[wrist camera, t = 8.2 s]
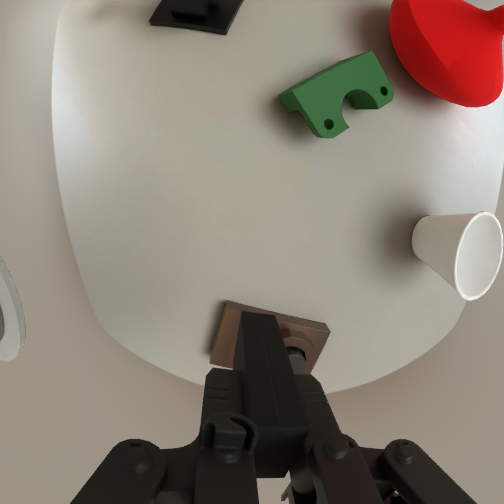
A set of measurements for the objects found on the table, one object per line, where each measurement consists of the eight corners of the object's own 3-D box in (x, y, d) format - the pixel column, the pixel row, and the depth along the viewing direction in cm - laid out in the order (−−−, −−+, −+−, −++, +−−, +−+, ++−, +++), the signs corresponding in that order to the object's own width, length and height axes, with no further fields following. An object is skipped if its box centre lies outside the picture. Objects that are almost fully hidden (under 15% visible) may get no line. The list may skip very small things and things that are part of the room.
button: (268, 368, 30) (270, 377, 29) (278, 344, 30) (281, 352, 28) (296, 372, 31) (299, 381, 29) (307, 349, 30) (311, 357, 29)
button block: (210, 353, 34) (208, 372, 30) (226, 300, 32) (226, 315, 28) (302, 371, 35) (309, 389, 31) (325, 323, 34) (335, 339, 30)
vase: (466, 131, 29) (563, 124, 10) (371, 88, 27) (477, 30, 8) (456, 40, 25) (528, 10, 6) (366, -6, 23) (427, -73, 4)
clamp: (304, 131, 32) (308, 151, 25) (278, 92, 29) (275, 99, 22) (384, 93, 27) (412, 103, 20) (361, 52, 24) (385, 48, 17)
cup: (457, 239, 33) (509, 257, 22) (418, 286, 34) (467, 317, 23) (431, 186, 30) (489, 192, 20) (386, 234, 31) (442, 256, 21)
